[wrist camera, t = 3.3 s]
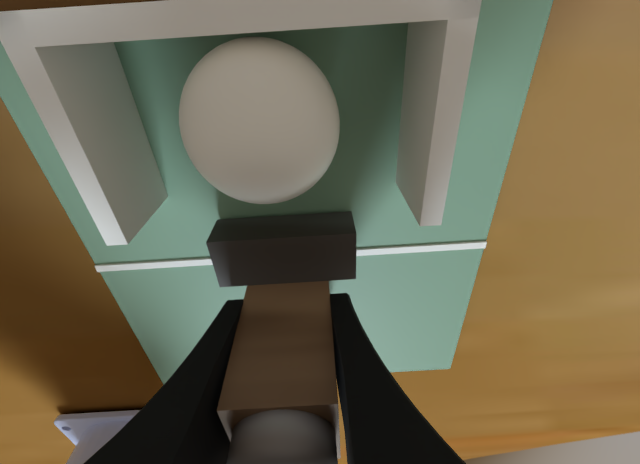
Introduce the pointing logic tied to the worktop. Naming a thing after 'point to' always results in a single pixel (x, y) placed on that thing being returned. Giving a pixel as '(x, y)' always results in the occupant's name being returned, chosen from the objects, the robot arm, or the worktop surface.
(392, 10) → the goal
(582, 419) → the worktop surface
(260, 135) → the ball
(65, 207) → the board
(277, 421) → the kicker
